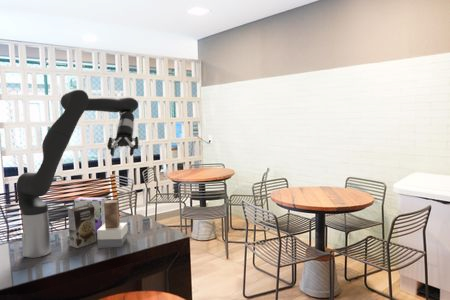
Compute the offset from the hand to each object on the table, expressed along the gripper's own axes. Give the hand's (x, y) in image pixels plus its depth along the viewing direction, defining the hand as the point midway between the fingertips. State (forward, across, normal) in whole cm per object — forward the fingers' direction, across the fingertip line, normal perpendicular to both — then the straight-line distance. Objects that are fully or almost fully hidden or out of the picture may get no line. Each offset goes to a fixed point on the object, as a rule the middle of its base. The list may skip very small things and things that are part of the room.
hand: (121, 155), depth 167 cm
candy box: (+26, -16, +26) cm, 40 cm away
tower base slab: (+38, -2, +15) cm, 41 cm away
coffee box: (+37, -15, +15) cm, 43 cm away
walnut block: (+32, -2, +9) cm, 34 cm away
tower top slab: (+35, -2, +12) cm, 37 cm away
